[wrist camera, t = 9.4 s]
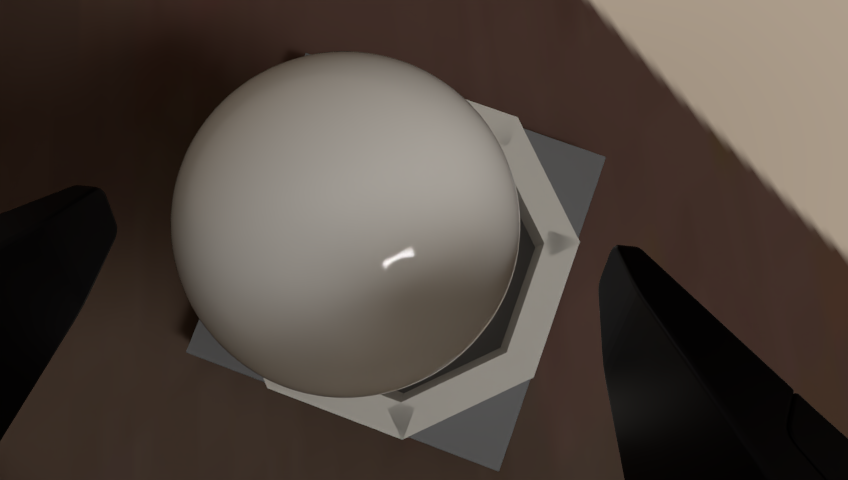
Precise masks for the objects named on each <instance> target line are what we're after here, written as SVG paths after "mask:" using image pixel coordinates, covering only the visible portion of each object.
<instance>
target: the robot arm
mask: <svg viewBox="0 0 848 480" xmlns="http://www.w3.org/2000/svg"><path fill="white" fill-rule="evenodd" d="M116 233H117V225H116V222H115V219H114V216H113V213H112V211H111V208H110V205H109V203H108V200H107V197H106V195H105V193H104V192H103V191H102V190H101V189H100V188H98V187H90V186H81V185H76V186H72V187H69V188H67V189H64V190H62V191H59V192H56V193H54V194H51V195H49V196H46V197H43V198H41V199H38V200H36V201H33V202H30V203H28V204H25V205H23V206H20V207H17V208H15V209H12V210H10V211H7V212H4V213H2V214H0V441H1V439H2V437H3V436H4V434H5V432H6V431H7V429H8V428H9V426H10V424H11V423H12V421H13V420H14V418H15V416H16V415H17V413H18V411H19V410H20V408H21V407H22V405H23V403H24V402H25V400H26V398H27V397H28V395H29V394H30V392H31V390H32V389H33V387H34V386H35V384H36V382H37V381H38V379H39V377H40V376H41V374H42V373H43V371H44V369H45V368H46V366H47V364H48V363H49V361H50V360H51V358H52V356H53V355H54V353H55V351H56V350H57V348H58V347H59V345H60V343H61V342H62V340H63V339H64V337H65V335H66V334H67V332H68V330H69V329H70V327H71V326H72V324H73V322H74V321H75V319H76V317H77V316H78V314H79V312H80V310H81V309H82V307H83V305H84V303H85V301H86V299H87V297H88V295H89V293H90V291H91V289H92V287H93V285H94V282H95V280H96V278H97V276H98V274H99V272H100V270H101V268H102V265H103V263H104V261H105V259H106V257H107V255H108V253H109V251H110V248H111V246H112V244H113V242H114V240H115V237H116ZM599 306H600V322H601V338H602V354H603V365H604V373H605V379H606V385H607V390H608V395H609V400H610V405H611V411H612V416H613V421H614V426H615V431H616V437H617V442H618V447H619V452H620V458H621V463H622V468H623V473H624V478H625V480H848V438H847V437H845V436H844V435H843V434H842V433H841V432H840V431H839V430H838V429H836V428H835V427H834V426H833V425H832V424H831V423H830V422H829V421H827V420H826V419H825V418H824V417H823V416H822V415H821V414H820V413H819V412H817V411H816V410H815V409H814V408H813V407H812V406H811V405H810V404H809V403H808V402H807V401H805V400H804V399H803V398H802V397H801V396H800V395H799V394H797V393H795V394H793V393H794V390H793V389H792V388H791V387H790V386H789V385H788V384H787V383H786V382H785V381H784V380H783V379H781V378H780V377H779V376H778V375H777V374H776V373H775V372H774V371H773V370H772V369H771V368H770V367H768V366H767V365H766V364H765V363H764V362H763V361H762V360H761V359H760V358H759V357H758V356H757V355H755V354H754V353H753V352H752V351H751V350H750V349H749V348H748V347H747V346H746V345H745V344H744V343H742V342H741V341H740V340H739V339H738V338H737V337H736V336H735V335H734V334H733V333H732V332H731V331H729V330H728V329H727V328H726V327H725V326H724V325H723V324H722V323H721V322H720V321H719V320H718V319H716V318H715V317H714V316H713V315H712V314H711V313H710V312H709V311H708V310H707V309H706V308H705V307H703V306H702V305H701V304H700V303H699V302H698V301H697V300H696V299H695V298H694V297H693V296H692V295H690V294H689V293H688V292H687V291H686V290H685V289H684V288H683V287H682V286H681V285H680V284H679V283H677V282H676V281H675V280H674V279H673V278H672V277H671V276H670V275H669V274H668V273H667V272H666V271H664V270H663V269H662V268H661V267H660V266H659V265H658V264H657V263H656V262H655V261H654V260H653V259H651V258H650V257H649V256H648V255H647V254H646V253H645V252H644V251H643V250H642V249H640V248H638V247H633V246H624V245H617V246H615V247H613V249H612V250H611V252H610V255H609V258H608V260H607V263H606V265H605V268H604V271H603V273H602V276H601V279H600V283H599Z"/></svg>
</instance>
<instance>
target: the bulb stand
mask: <svg viewBox="0 0 848 480" xmlns="http://www.w3.org/2000/svg"><path fill="white" fill-rule="evenodd" d="M307 55H311V54H308V53H305V56H307ZM467 101H468V102H469V103H470V104H471V105H472V106H473V108H474V109H475V110H476V111H477V112H478V113H479V114H480V115H481V117H482V118H483V119H484V121H485V122H486V123H487V124H488V126H489V127H490V129H491V130H492V132H493V133H494V135H495V137H496V138H497V140H498V142H499V144H500V146H501V148H502V150H503V152H504V154H505V156H506V159H507V161H508V163H509V166H510V169H511V172H512V175H513V178H514V182H515V186H516V190H517V195H518V201H519V210H520V242H519V250H518V256H517V262H516V266H515V270H514V273H513V277H512V280H511V283H510V285H509V288H508V290H507V293H506V295H505V297H504V299H503V301H502V303H501V305H500V307H499V309H498V311H497V312H496V314H495V316H494V317H493V319H492V320H491V322H490V323H489V325H488V326H487V327H486V329H485V330H484V331H483V332H482V334H481V335H480V336H479V337H478V338H477V340H476V341H475V342H474V343H473V344H472V345H471V346H470V347H469V348H468V349H467V350H466V351H465V352H464V353H463V354H461V355H460V356H459V357H458V358H457V359H455V360H454V361H453V362H452V363H450V364H449V365H448V366H446V367H445V368H443V369H442V370H440V371H439V372H437V373H435V374H433V375H432V376H430V377H428V378H426V379H424V380H422V381H420V382H418V383H415V384H413V385H410V386H408V387H405V388H402V389H399V390H396V391H393V392H389V393H385V394H380V395H375V396H368V397H358V398H333V397H323V396H316V395H311V394H306V393H302V392H298V391H295V390H292V389H289V388H286V387H283V386H281V385H278V384H276V383H274V382H271V381H269V380H267V379H265V378H263V377H262V376H260V375H258V374H256V373H255V372H253V371H252V370H250V369H248V368H247V367H246V366H244V365H243V364H241V363H240V362H239V361H238V360H236V359H235V358H234V357H233V356H231V355H230V354H229V353H228V352H227V351H226V350H225V349H224V348H223V347H222V346H221V345H220V344H219V343H218V342H217V341H216V340H215V339H214V338H213V337H212V335H211V334H210V333H209V332H208V330H207V329H206V328H205V326H204V325H203V324H202V322H201V321H200V319H199V321H198V323H197V326H196V328H195V331H194V333H193V336H192V338H191V341H190V343H189V346H188V348H187V351H186V352H187V353H189V354H192V355H195V356H197V357H200V358H203V359H205V360H208V361H210V362H213V363H216V364H218V365H221V366H224V367H226V368H229V369H231V370H234V371H237V372H239V373H242V374H244V375H247V376H250V377H252V378H255V379H258V380H260V381H263V382H265V383H266V386H267V388H268V389H271V390H274V391H276V392H279V393H282V394H284V395H287V396H290V397H292V398H295V399H297V400H300V401H303V402H305V403H308V404H311V405H313V406H316V407H318V408H321V409H324V410H326V411H329V412H331V413H334V414H337V415H339V416H342V417H345V418H347V419H350V420H352V421H355V422H358V423H360V424H363V425H366V426H368V427H371V428H373V429H376V430H379V431H381V432H384V433H386V434H389V435H392V436H394V437H397V438H400V439H401V440H403V439H405V438H407V437H410V438H412V439H415V440H417V441H420V442H423V443H425V444H428V445H431V446H433V447H436V448H438V449H441V450H444V451H446V452H449V453H452V454H454V455H457V456H459V457H462V458H465V459H467V460H470V461H473V462H475V463H478V464H480V465H483V466H486V467H488V468H491V469H494V470H496V471H499V470H500V467H501V464H502V461H503V458H504V455H505V452H506V449H507V446H508V443H509V440H510V438H511V435H512V432H513V429H514V426H515V423H516V420H517V417H518V414H519V411H520V408H521V405H522V402H523V399H524V396H525V393H526V390H527V388H528V385H529V382H530V379H531V378H534V375H535V372H536V369H537V366H538V363H539V360H540V357H541V354H542V351H543V348H544V345H545V342H546V339H547V336H548V334H549V331H550V328H551V325H552V322H553V319H554V316H555V313H556V310H557V307H558V304H559V301H560V298H561V295H562V292H563V289H564V286H565V283H566V281H567V278H568V275H569V272H570V269H571V266H572V263H573V260H574V257H575V254H576V251H577V248H578V245H579V243H580V241H579V239H578V238H579V235H580V232H581V229H582V226H583V223H584V220H585V217H586V214H587V211H588V208H589V205H590V202H591V199H592V196H593V193H594V190H595V188H596V185H597V182H598V179H599V176H600V173H601V170H602V167H603V164H604V161H605V158H606V157H604V156H601V155H598V154H596V153H593V152H590V151H587V150H584V149H581V148H578V147H575V146H573V145H570V144H567V143H564V142H561V141H558V140H555V139H552V138H550V137H547V136H544V135H541V134H538V133H535V132H532V131H529V130H526V129H524V128H523V127H522V125H521V123H520V121H519V119H518V117H515V116H512V115H509V114H506V113H504V112H501V111H498V110H495V109H492V108H489V107H486V106H483V105H480V104H478V103H475V102H472V101H469V100H467Z"/></svg>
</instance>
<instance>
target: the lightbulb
mask: <svg viewBox="0 0 848 480" xmlns="http://www.w3.org/2000/svg"><path fill="white" fill-rule="evenodd" d="M170 228H171V242H172V250H173V256H174V261H175V265H176V269H177V272H178V275H179V278H180V281H181V284H182V287H183V289H184V292H185V294H186V296H187V298H188V300H189V302H190V304H191V306H192V308H193V310H194V311H195V313H196V315H197V316H198V318H199V319H200V321H201V322H202V324H203V325H204V326H205V328H206V329H207V330H208V332H209V333H210V334H211V335H212V337H213V338H214V339H215V340H216V341H217V342H218V343H219V344H220V345H221V346H222V347H223V348H224V349H225V350H226V351H227V352H228V353H229V354H230V355H231V356H233V357H234V358H235V359H236V360H238V361H239V362H240V363H241V364H243V365H244V366H246V367H247V368H248V369H250V370H252V371H253V372H255V373H256V374H258V375H260V376H262V377H263V378H265V379H267V380H269V381H271V382H274V383H276V384H278V385H281V386H283V387H286V388H289V389H292V390H295V391H298V392H302V393H306V394H311V395H316V396H323V397H333V398H358V397H368V396H375V395H380V394H385V393H389V392H393V391H396V390H399V389H402V388H405V387H408V386H410V385H413V384H415V383H418V382H420V381H422V380H424V379H426V378H428V377H430V376H432V375H433V374H435V373H437V372H439V371H440V370H442V369H443V368H445V367H446V366H448V365H449V364H450V363H452V362H453V361H454V360H455V359H457V358H458V357H459V356H460V355H461V354H463V353H464V352H465V351H466V350H467V349H468V348H469V347H470V346H471V345H472V344H473V343H474V342H475V341H476V340H477V338H478V337H479V336H480V335H481V334H482V332H483V331H484V330H485V329H486V327H487V326H488V325H489V323H490V322H491V320H492V319H493V317H494V316H495V314H496V312H497V311H498V309H499V307H500V305H501V303H502V301H503V299H504V297H505V295H506V293H507V290H508V288H509V285H510V283H511V280H512V277H513V273H514V270H515V266H516V262H517V256H518V250H519V242H520V210H519V201H518V195H517V190H516V186H515V182H514V178H513V175H512V172H511V169H510V166H509V163H508V161H507V159H506V156H505V154H504V152H503V150H502V148H501V146H500V144H499V142H498V140H497V138H496V137H495V135H494V133H493V132H492V130H491V129H490V127H489V126H488V124H487V123H486V122H485V121H484V119H483V118H482V117H481V115H480V114H479V113H478V112H477V111H476V110H475V109H474V108H473V106H472V105H471V104H470V103H469V102H468V101H467V100H466V99H465V98H463V97H462V96H461V95H460V94H459V93H458V92H457V91H455V90H454V89H453V88H452V87H450V86H449V85H448V84H446V83H445V82H443V81H442V80H440V79H439V78H437V77H435V76H434V75H432V74H430V73H429V72H427V71H425V70H423V69H421V68H419V67H416V66H414V65H412V64H409V63H407V62H404V61H401V60H398V59H395V58H391V57H387V56H383V55H378V54H372V53H365V52H353V51H336V52H324V53H317V54H312V55H307V56H303V57H299V58H295V59H292V60H289V61H286V62H283V63H281V64H278V65H276V66H273V67H271V68H269V69H267V70H265V71H263V72H261V73H259V74H258V75H256V76H254V77H253V78H251V79H249V80H248V81H246V82H245V83H244V84H242V85H241V86H239V87H238V88H237V89H236V90H234V91H233V92H232V93H231V94H230V95H228V96H227V97H226V98H225V99H224V100H223V101H222V102H221V103H220V104H219V105H218V106H217V107H216V108H215V109H214V110H213V112H212V113H211V114H210V115H209V116H208V118H207V119H206V120H205V121H204V123H203V124H202V126H201V127H200V128H199V130H198V132H197V133H196V135H195V136H194V138H193V140H192V142H191V144H190V146H189V147H188V149H187V152H186V154H185V156H184V158H183V161H182V163H181V166H180V169H179V172H178V175H177V179H176V183H175V187H174V192H173V198H172V205H171V221H170Z"/></svg>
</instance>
